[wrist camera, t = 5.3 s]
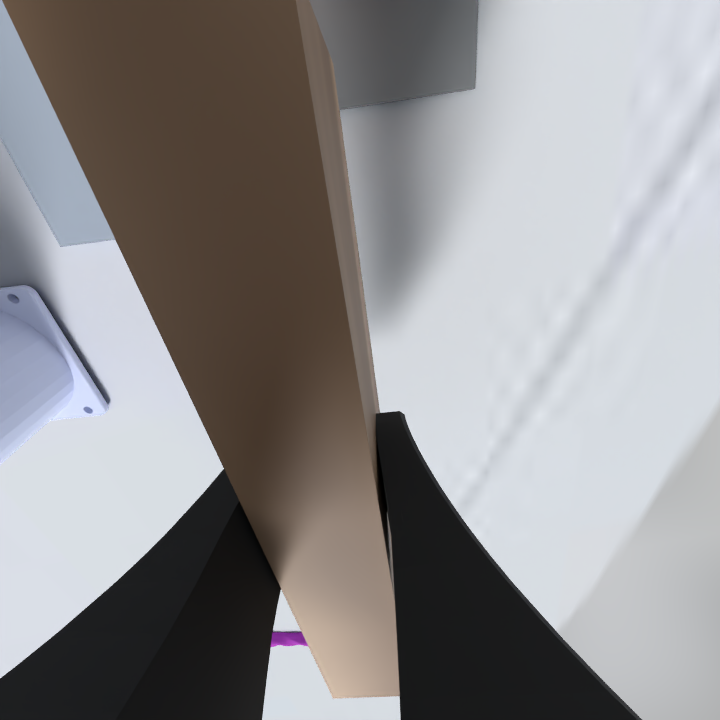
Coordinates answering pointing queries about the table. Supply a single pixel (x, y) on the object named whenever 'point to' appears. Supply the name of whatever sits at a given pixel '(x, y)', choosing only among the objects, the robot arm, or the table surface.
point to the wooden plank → (245, 276)
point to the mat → (398, 48)
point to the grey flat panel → (44, 148)
